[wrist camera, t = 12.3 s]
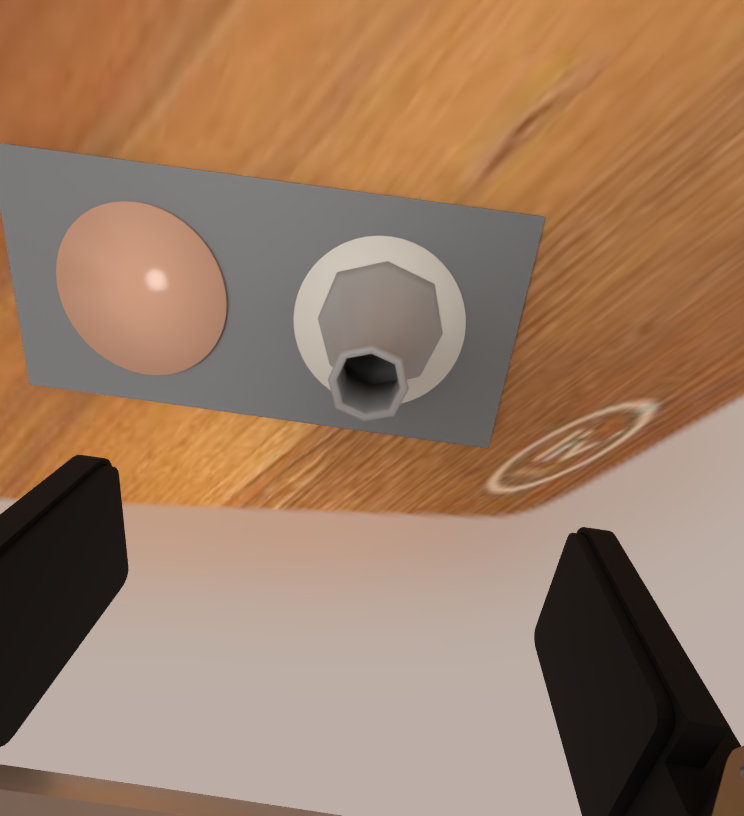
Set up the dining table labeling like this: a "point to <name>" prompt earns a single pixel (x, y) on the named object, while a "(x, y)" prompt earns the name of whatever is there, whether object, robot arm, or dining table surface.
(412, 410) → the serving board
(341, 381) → the flask
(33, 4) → the dining table surface
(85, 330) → the peach domed disc
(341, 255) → the cream coaster
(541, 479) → the dining table surface
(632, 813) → the robot arm
